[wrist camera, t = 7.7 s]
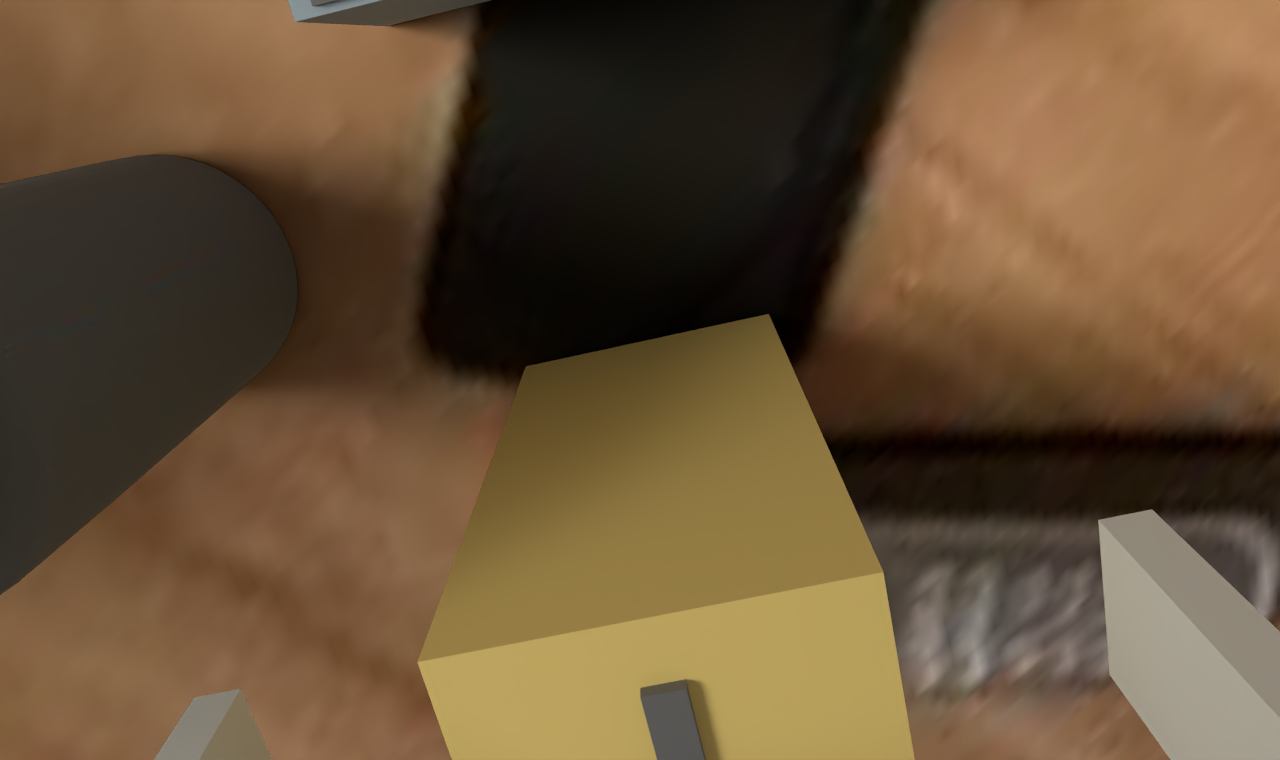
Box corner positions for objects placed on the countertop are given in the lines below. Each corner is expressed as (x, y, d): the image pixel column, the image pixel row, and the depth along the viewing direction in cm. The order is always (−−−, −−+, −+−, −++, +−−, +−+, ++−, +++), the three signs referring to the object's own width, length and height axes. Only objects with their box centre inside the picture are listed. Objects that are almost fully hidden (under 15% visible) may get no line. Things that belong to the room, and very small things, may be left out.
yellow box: (525, 366, 24) (414, 671, 12) (768, 313, 23) (887, 580, 12) (575, 544, 26) (517, 961, 14) (803, 498, 25) (938, 891, 14)
